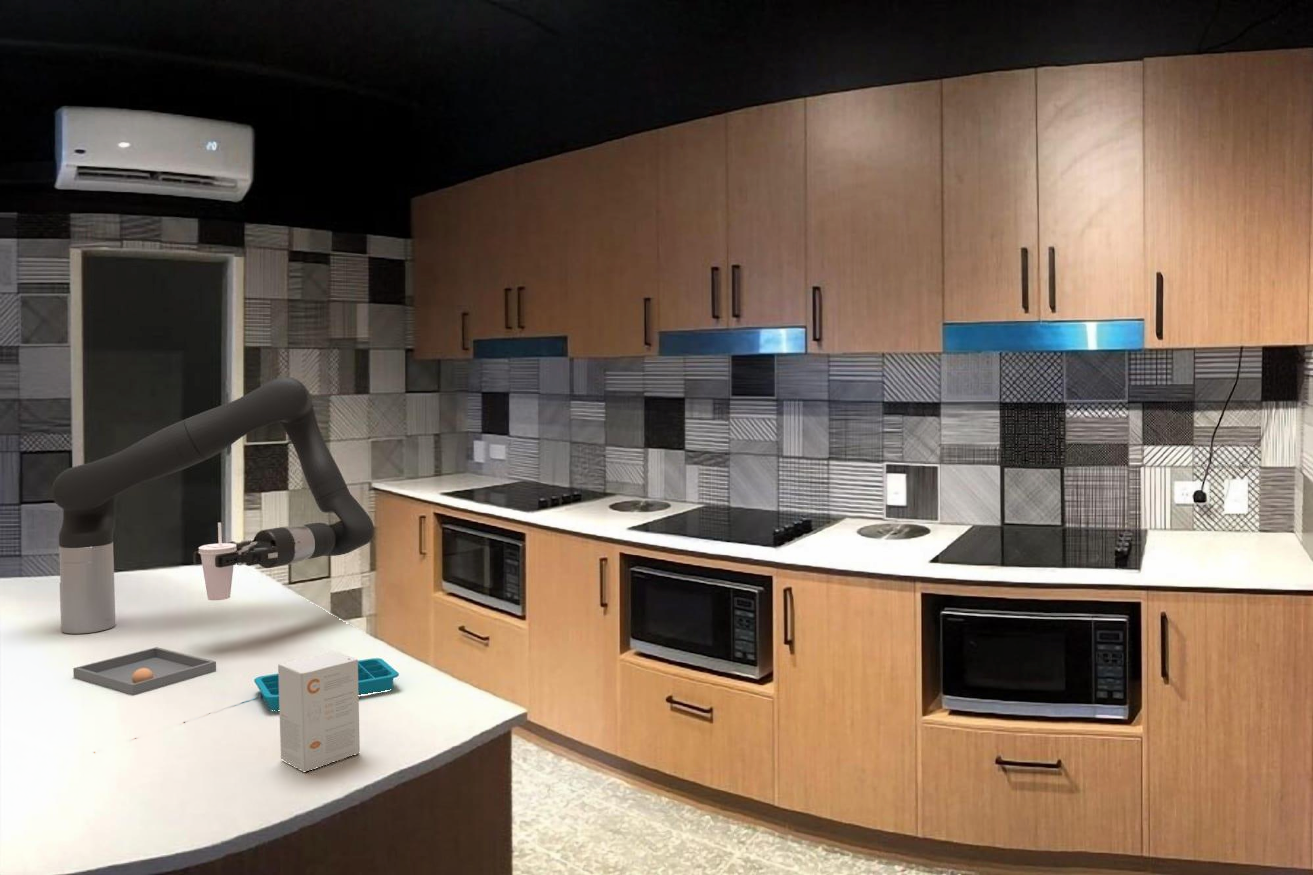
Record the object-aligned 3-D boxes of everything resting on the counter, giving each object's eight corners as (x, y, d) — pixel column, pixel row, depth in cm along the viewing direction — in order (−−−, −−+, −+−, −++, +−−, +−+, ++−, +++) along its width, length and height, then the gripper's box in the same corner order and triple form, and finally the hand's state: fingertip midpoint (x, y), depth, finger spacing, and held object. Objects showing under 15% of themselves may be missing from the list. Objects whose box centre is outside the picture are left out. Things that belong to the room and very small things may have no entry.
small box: (335, 742, 124) (334, 649, 123) (360, 754, 120) (359, 658, 119) (278, 761, 118) (276, 663, 117) (303, 774, 114) (301, 673, 113)
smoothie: (222, 602, 162) (220, 526, 161) (191, 601, 163) (189, 524, 162) (245, 594, 168) (243, 520, 167) (215, 593, 169) (213, 519, 169)
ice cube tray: (253, 695, 144) (252, 677, 143) (380, 674, 155) (379, 657, 154) (266, 718, 134) (266, 698, 134) (401, 693, 145) (400, 674, 145)
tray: (73, 679, 150) (73, 667, 150) (156, 657, 162) (156, 647, 162) (133, 697, 142) (132, 685, 141) (216, 673, 154) (215, 661, 154)
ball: (128, 687, 145) (127, 669, 145) (146, 682, 148) (146, 664, 147) (139, 690, 143) (138, 672, 143) (157, 685, 146) (157, 667, 146)
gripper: (260, 524, 181) (180, 536, 166) (308, 530, 174) (229, 543, 159) (261, 560, 181) (181, 576, 167) (309, 568, 174) (230, 584, 160)
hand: (205, 559), depth 163 cm, fingers closed on smoothie, 6 cm apart
